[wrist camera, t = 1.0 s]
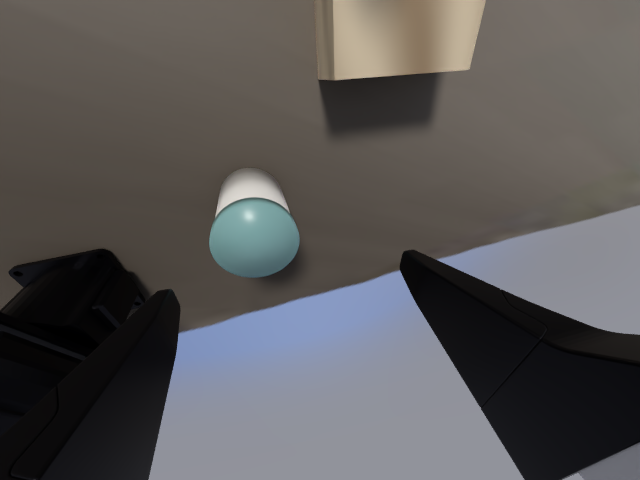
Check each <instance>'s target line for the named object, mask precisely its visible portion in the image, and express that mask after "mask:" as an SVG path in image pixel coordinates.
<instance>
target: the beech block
mask: <svg viewBox="0 0 640 480" xmlns="http://www.w3.org/2000/svg"><path fill="white" fill-rule="evenodd" d="M485 2H486V0H314V7H315V27H316V47H317V66H318V80H344V79H357V78H370V77H382V76H395V75H408V74H421V73H434V72H447V71H459V70H469V68H470V64H471V60H472V56H473V52H474V48H475V43H476V39H477V35H478V31H479V27H480V22H481V18H482V14H483V10H484V6H485Z"/></svg>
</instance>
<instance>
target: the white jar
mask: <svg viewBox="0 0 640 480" xmlns="http://www.w3.org/2000/svg"><path fill="white" fill-rule="evenodd" d="M209 246H210V251H211V254H212V256H213V258H214V259H215V261H216V262H217V263H218V264H219V265H220V266H221V267H222V268H224V269H225V270H227V271H228V272H230V273H232V274H235V275H238V276H242V277H250V278H256V277H263V276H268V275H271V274H274V273H276V272H278V271H280V270H281V269H283V268H284V267H286V266H287V265H288V264H289V263H290V262H291V261H292V259H293V258H294V257H295V255H296V253H297V250H298V247H299V233H298V229H297V227H296V224H295V221H294V219H293V217H292V215H291V214H290V212H289V209H288V206H287V203H286V201H285V198H284V195H283V192H282V189H281V187H280V185H279V183H278V181H277V180H276V179H275V178H274V177H273V176H272V175H271V174H270V173H268V172H266V171H264V170H262V169H258V168H242V169H239V170H236V171H234V172H232V173H231V174H230V175H228V176H227V177H226V179H225V180H224V181H223V183H222V186H221V189H220V194H219V200H218V205H217V211H216V216H215V219H214V221H213V224H212V228H211V233H210V239H209Z"/></svg>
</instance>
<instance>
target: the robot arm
mask: <svg viewBox="0 0 640 480" xmlns="http://www.w3.org/2000/svg"><path fill="white" fill-rule="evenodd" d="M99 254H102V255H104V256H101V255H99ZM18 271H19V272H18ZM400 271H401V273H402V275H403V278H404V280H405V282H406V284H407V286H408V288H409V290H410V292H411V294H412V296H413V298H414V300H415V302H416V304H417V305H418V307H419V309H420V310H421V312H422V313H423V315H424V317H425V318H426V320H427V322H428V323H429V325H430V326H431V328H432V330H433V331H434V333H435V335H436V336H437V338H438V340H439V341H440V342H441V344H442V346H443V348H444V349H445V351H446V353H447V354H448V356H449V357H450V359H451V361H452V362H453V364H454V366H455V367H456V368H457V370H458V372H459V374H460V375H461V377H462V378H463V380H464V382H465V383H466V385H467V386H468V388H469V390H470V392H471V393H472V395H473V396H474V398H475V400H476V401H477V403H478V405H479V406H480V407H481V410H482V411H483V413H484V414H485V416H486V418H487V419H488V421H489V422H490V424H491V426H492V428H493V429H494V431H495V432H496V434H497V436H498V437H499V439H500V440H501V442H502V444H503V445H504V447H505V449H506V450H507V452H508V453H509V455H510V457H511V458H512V460H513V462H514V463H515V465H516V466H517V468H518V470H519V471H520V473H521V475H522V476H523V478H524V479H525V480H563V479H565V478H567V477H569V476H572V475H574V474H576V473H579V474H580V475H581V476H582V478H583V479H584V480H640V335H634V334H622V333H615V332H610V331H605V330H602V329H598V328H595V327H592V326H589V325H587V324H584V323H582V322H579V321H577V320H574V319H572V318H569V317H566V316H564V315H561V314H559V313H556V312H554V311H551V310H549V309H546V308H544V307H541V306H539V305H536V304H534V303H531V302H528V301H526V300H524V299H522V298H520V297H517V296H515V295H513V294H510V293H508V292H506V291H504V290H500V289H499V288H497V287H495V286H493V285H491V284H488V283H486V282H484V281H482V280H480V279H477V278H475V277H473V276H470V275H469V274H466V273H464V272H462V271H460V270H457V269H455V268H453V267H451V266H449V265H446V264H444V263H442V262H440V261H438V260H435V259H433V258H431V257H429V256H426V255H424V254H422V253H420V252H418V251H415V250H407V251H404V252H403V254H402V258H401V262H400ZM20 272H21V273H20ZM9 275H10V276H11V277H12V278H14V279H15V280H16V281H17V282H18V283H19V284H20V285H21V286H23V287H24V288H23V289H22V290H21V291H20V292H19V293H18V294H17V295H16V296H15V297H13V298H12V299H11V300H10V301H9V302H8V303H7V304H6V305H5V306H4V307H3V308H2V309H1V310H0V480H148V479H149V474H150V470H151V465H152V461H153V456H154V451H155V447H156V443H157V438H158V434H159V429H160V424H161V420H162V415H163V411H164V406H165V402H166V397H167V392H168V388H169V384H170V379H171V374H172V370H173V366H174V361H175V356H176V350H177V342H178V331H179V321H180V304H179V302H178V300H177V298H176V296H175V294H174V292H173V290H172V289H166V290H160V291H157V292H156V293H155V294H154V295H153V296H152V297H151V298H150V299H149V300H147V301H146V302H145V299H144V297H143V296H142V295H141V293H140V292H139V289H138V288H137V287H136V285H135V284H134V283H133V281H132V280H131V279H130V277H129V276H128V274H127V273H126V272H125V271H124V270H123V269H122V268H121V266H120V265H119V264H118V262H117V261H116V260H115V258H114V257H113V256H112V254H111V253H110V252H109V251H108V250H106V249H96V250H91V251H86V252H81V253H76V254H72V255H67V256H62V257H57V258H52V259H47V260H42V261H37V262H32V263H27V264H22V265H17V266H14V267H13V268H12V269H11V270H10V271H9ZM139 307H140V308H139ZM135 308H139V309H138V310H137V311H136V312H135V313H134V314H132V315H131V316H130V317H129V318H128V319H127V316H128V314H129V312H130V310H131V309H135ZM126 319H127V320H126Z"/></svg>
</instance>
